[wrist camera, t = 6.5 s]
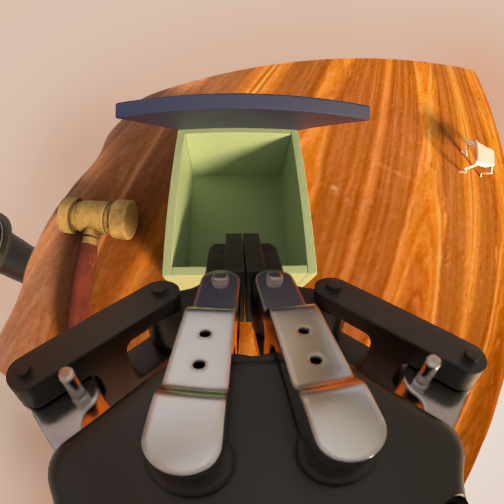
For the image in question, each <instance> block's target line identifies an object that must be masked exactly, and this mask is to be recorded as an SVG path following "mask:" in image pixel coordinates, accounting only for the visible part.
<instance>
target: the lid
mask: <svg viewBox="0 0 504 504" xmlns="http://www.w3.org/2000/svg"><path fill="white" fill-rule="evenodd" d="M116 118H118V119H124V120H130V121H136V122H141V123H147V124H152V125H157V126H162V127H167V128H172V129H176V130H186V129H209V128H265V129H288V130H301V129H307V128H314V127H320V126H327V125H334V124H342V123H350V122H358V121H368V120H370V107H369V106H367V105H361V104H355V103H349V102H343V101H336V100H329V99H321V98H312V97H302V96H290V95H275V94H247V93H223V94H195V95H180V96H168V97H158V98H150V99H142V100H135V101H128V102H122V103H117V104H116Z"/></svg>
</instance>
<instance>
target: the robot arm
mask: <svg viewBox="0 0 504 504" xmlns="http://www.w3.org/2000/svg"><path fill="white" fill-rule="evenodd" d="M3 241H4V227H3V224H2V222H1V221H0V251H1V249H2V245H3ZM244 302H245V316H246V322H252V327H253V329H254V341H255V345H256V350H257V355H258V356H246V355H240V354H239V345H240V322H244ZM344 322H347V323H349V324H350V325H352V326H354V327H356V328H358V329H360V330H361V331H363V332H365V333H366V334H367V335H368V336H369V337H370V340H371V345H370V348H369V347H368V346H366V345H364V344H362V343H361V342H359V341H357V340H355V339H354V338H352V337H350V336H348V335H347V334H345V333H343V332H342V329H343V326H344ZM148 329H149V332H150V336H151V337H149V338H148V339H146V340H145V341H143V342H142V343H140V344H139V345H137V346H136V347H134V348H133V349H131V350H130V351H128V352H127V346H128V344H129V343H130V341H131V340H132V339H134V338H135V337H137V336H138V335H140V334H141V333H143V332H145V331H146V330H148ZM486 366H487V359H486V357H485V355H484V353H483V352H482V351H481V350H480V349H479V348H478V347H477V346H475V345H473V344H471V343H469V342H467V341H465V340H463V339H461V338H459V337H457V336H455V335H453V334H451V333H449V332H447V331H445V330H443V329H441V328H439V327H437V326H435V325H433V324H431V323H429V322H427V321H425V320H423V319H421V318H419V317H417V316H415V315H413V314H411V313H409V312H407V311H405V310H403V309H401V308H399V307H397V306H395V305H393V304H391V303H388V302H386V301H384V300H382V299H380V298H378V297H376V296H374V295H372V294H370V293H368V292H366V291H364V290H362V289H360V288H357V287H355V286H353V285H351V284H349V283H347V282H345V281H343V280H340V279H336V278H324V279H321V280H319V281H317V282H316V284H315V289H311V288H304V287H300V286H297V285H296V283H295V281H294V279H293V277H292V276H291V275H290V274H289V273H287V272H284V271H283V268H282V265H281V261H280V259H279V255H278V252H277V249H276V248H275V247H274V246H273V245H272V244H270V243H261V242H260V237H259V233H243V245H242V233H226V242H225V244H214V245H212V246H211V247H210V248H209V253H208V259H207V265H206V271H205V275H204V276H203V277H202V279H201V282H200V284H199V285H198V286H196V287H193V288H190V289H186V290H181V291H180V289H179V287H178V285H177V284H175V283H173V282H170V281H157V282H153V283H150V284H148V285H146V286H144V287H143V288H141V289H139V290H137V291H135V292H134V293H132V294H130V295H128V296H126V297H125V298H123V299H121V300H119V301H117V302H116V303H114V304H112V305H110V306H108V307H107V308H105V309H103V310H101V311H99V312H98V313H96V314H94V315H92V316H91V317H89V318H87V319H85V320H84V321H82V322H80V323H78V324H77V325H75V326H73V327H71V328H70V329H68V330H66V331H64V332H63V333H61V334H59V335H57V336H56V337H54V338H52V339H51V340H49V341H47V342H45V343H44V344H42V345H40V346H39V347H37V348H35V349H33V350H32V351H30V352H28V353H27V354H25V355H23V356H22V357H20V358H18V359H17V360H15V361H14V362H13V363H12V364H11V365H10V367H9V368H8V371H7V374H6V381H7V383H8V385H9V387H10V388H11V389H12V391H13V392H14V393H15V395H16V396H17V397H18V398H19V400H20V401H21V402H22V403H23V405H24V406H25V407H26V408H27V409H28V411H29V412H30V413H31V414H32V415H33V417H34V418H35V419H36V421H37V423H38V424H39V426H40V428H41V430H42V432H43V433H44V435H45V437H46V438H47V440H48V442H49V443H50V445H51V446H52V448H53V449H54V451H55V452H54V454H53V456H52V458H51V460H50V464H49V468H48V482H49V487H50V490H51V494H52V497H53V501H54V504H468V502H467V500H466V497H465V490H464V462H465V454H464V448H463V444H462V441H461V439H460V437H459V436H458V434H457V433H456V431H455V430H454V429H453V428H454V426H455V423H456V421H457V419H458V416H459V414H460V411H461V409H462V406H463V403H464V401H465V398H466V396H467V395H468V393H469V392H470V391H471V390H472V388H473V387H474V384H475V382H476V381H477V380H478V378H479V377H480V375H481V374H482V373H483V371H484V370H485V368H486Z"/></svg>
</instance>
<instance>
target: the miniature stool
mask: <svg viewBox="0 0 504 504" xmlns="http://www.w3.org/2000/svg"><path fill="white" fill-rule="evenodd" d="M465 144H466V153H465V152H463V151H462V150H461V152H462V153H463V154H464V155H466V156H467V144H469V145H471V146H473V147H476V164H473V165H470V166H467V167H465V168H464V169H465V171H461V170H460V172H461V173H467V170H468V169H471V168H473V167H475V166H477V165H478V166H482V167H490V166H491V171H490V172H483V173H481V175H482V174H492V171H493V166H494V165H495V164H494V152H495V151H493V150H491V149H490V148H487V147H486V146H484V145H482V144H480V143H479V142H478V141H477V140H476V141H475V142H472V141H469V140H466V139H465ZM481 175H480V177H481Z"/></svg>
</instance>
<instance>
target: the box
mask: <svg viewBox="0 0 504 504" xmlns="http://www.w3.org/2000/svg"><path fill="white" fill-rule="evenodd" d="M226 233H242V245H243V233H259V237H260V242H261V243H270V244H272V245H273V246H274V247H275V248H276V249H277V252H278V255H279V259H280V261H281V265H282V268H283V271H284V272H287V273H289V274H290V275H291V276H292V277H293V279H294V281H295V283H296V285H297V286H300V287H303V286H304V285H306V284H307V283H308V282H309V281H310V280H311V279H312V278H313V277H314V276H315V275H316V274H317V266H316V256H315V247H314V238H313V229H312V221H311V213H310V205H309V198H308V191H307V184H306V177H305V171H304V164H303V158H302V152H301V146H300V140H299V134H298V130H288V129H265V128H209V129H186V130H178V134H177V140H176V146H175V152H174V159H173V166H172V173H171V181H170V189H169V198H168V207H167V216H166V227H165V239H164V252H163V267H162V276H163V277H164V278H165V279H166V280H167V281H170V282H173V283H175V284H177V285H178V287H179V289H180V291H181V290H186V289H190V288H193V287H196V286H198V285H199V284H200V282H201V279H202V277H203V276H204V275H205V271H206V265H207V259H208V253H209V248H210V247H211V246H212V245H214V244H225V242H226Z"/></svg>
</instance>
